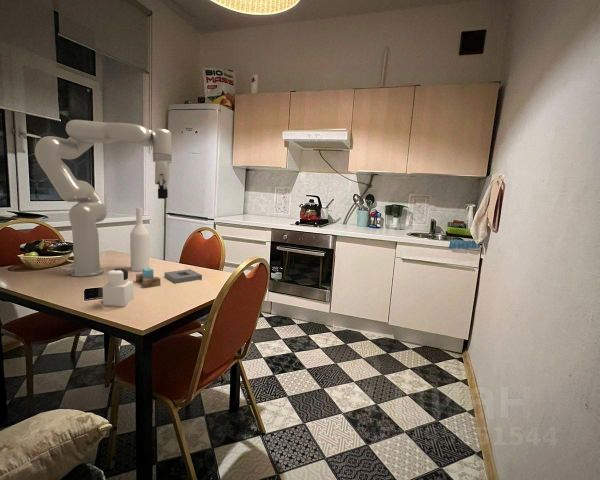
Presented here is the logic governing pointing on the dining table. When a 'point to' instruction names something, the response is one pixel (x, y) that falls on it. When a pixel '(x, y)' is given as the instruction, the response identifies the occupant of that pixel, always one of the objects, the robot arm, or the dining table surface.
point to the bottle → (139, 244)
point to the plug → (147, 273)
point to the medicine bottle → (118, 288)
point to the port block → (182, 276)
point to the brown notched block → (148, 281)
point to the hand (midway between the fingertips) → (163, 198)
